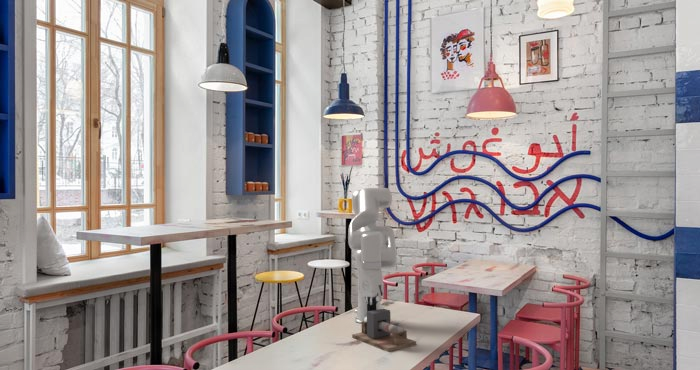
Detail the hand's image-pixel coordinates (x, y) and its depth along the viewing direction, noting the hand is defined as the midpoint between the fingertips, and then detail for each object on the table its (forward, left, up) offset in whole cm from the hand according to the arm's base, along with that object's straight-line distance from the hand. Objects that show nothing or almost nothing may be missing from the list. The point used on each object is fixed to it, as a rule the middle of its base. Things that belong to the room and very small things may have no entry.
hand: (371, 314), depth 188 cm
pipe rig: (+7, 0, -9) cm, 11 cm away
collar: (+4, 0, -7) cm, 8 cm away
